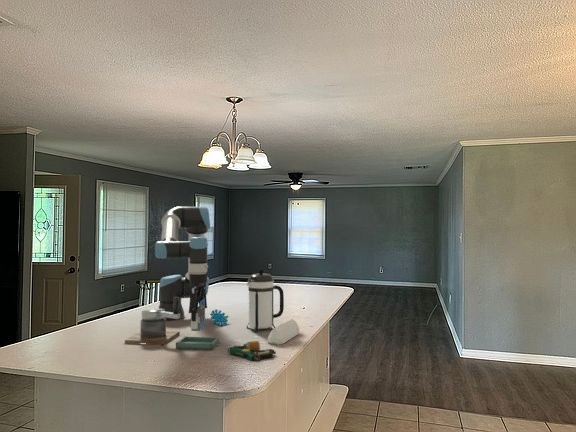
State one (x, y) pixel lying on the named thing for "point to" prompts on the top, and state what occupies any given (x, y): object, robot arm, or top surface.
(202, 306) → the label tape cartridge
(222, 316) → the gear
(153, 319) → the crank
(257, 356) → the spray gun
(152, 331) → the stand
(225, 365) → the top surface
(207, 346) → the tray
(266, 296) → the coffee press
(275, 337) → the white faceted wedge
